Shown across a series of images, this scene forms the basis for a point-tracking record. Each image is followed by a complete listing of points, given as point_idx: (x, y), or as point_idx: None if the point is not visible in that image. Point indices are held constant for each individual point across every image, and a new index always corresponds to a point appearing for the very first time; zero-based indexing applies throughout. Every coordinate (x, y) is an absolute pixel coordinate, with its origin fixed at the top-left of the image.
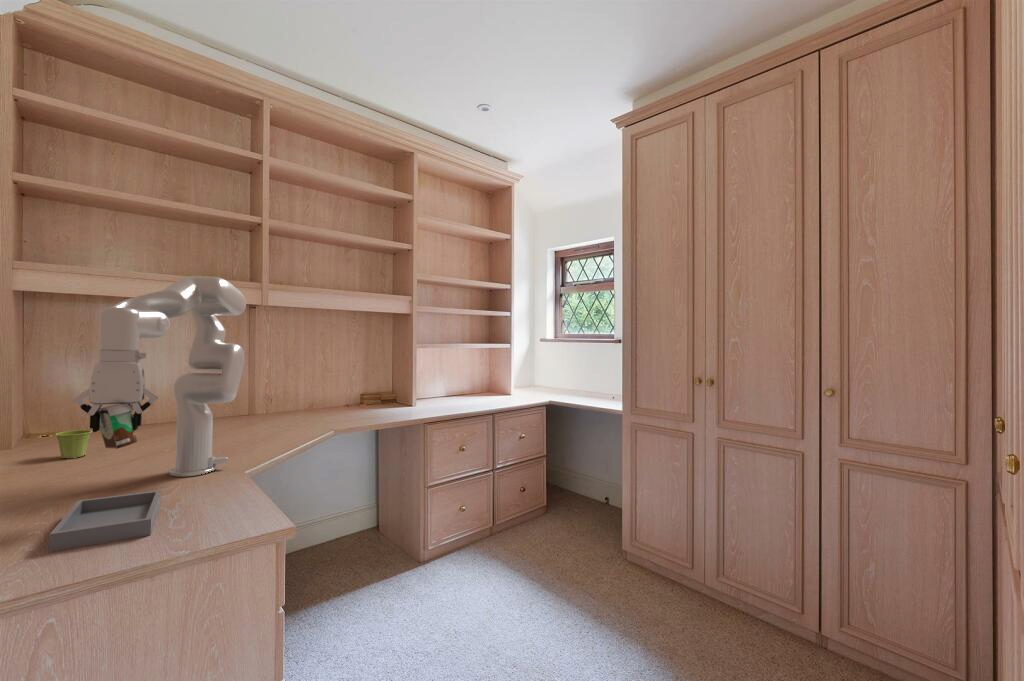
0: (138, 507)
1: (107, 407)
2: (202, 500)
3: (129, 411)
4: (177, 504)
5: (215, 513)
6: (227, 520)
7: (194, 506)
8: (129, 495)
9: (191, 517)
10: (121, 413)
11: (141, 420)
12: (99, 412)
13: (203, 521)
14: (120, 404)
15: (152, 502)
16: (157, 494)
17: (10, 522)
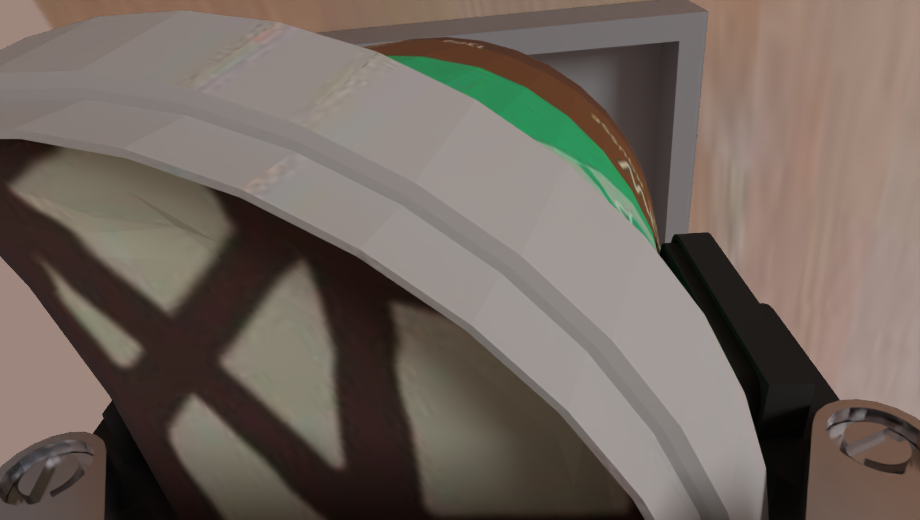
0: (586, 86)
1: (41, 138)
2: (892, 25)
3: None
4: (762, 47)
5: (895, 262)
6: (912, 355)
7: (834, 121)
8: (543, 52)
9: (798, 272)
10: None
11: (790, 338)
12: (122, 410)
13: (831, 333)
14: (403, 282)
15: (667, 239)
16: (688, 100)
17: (55, 23)
